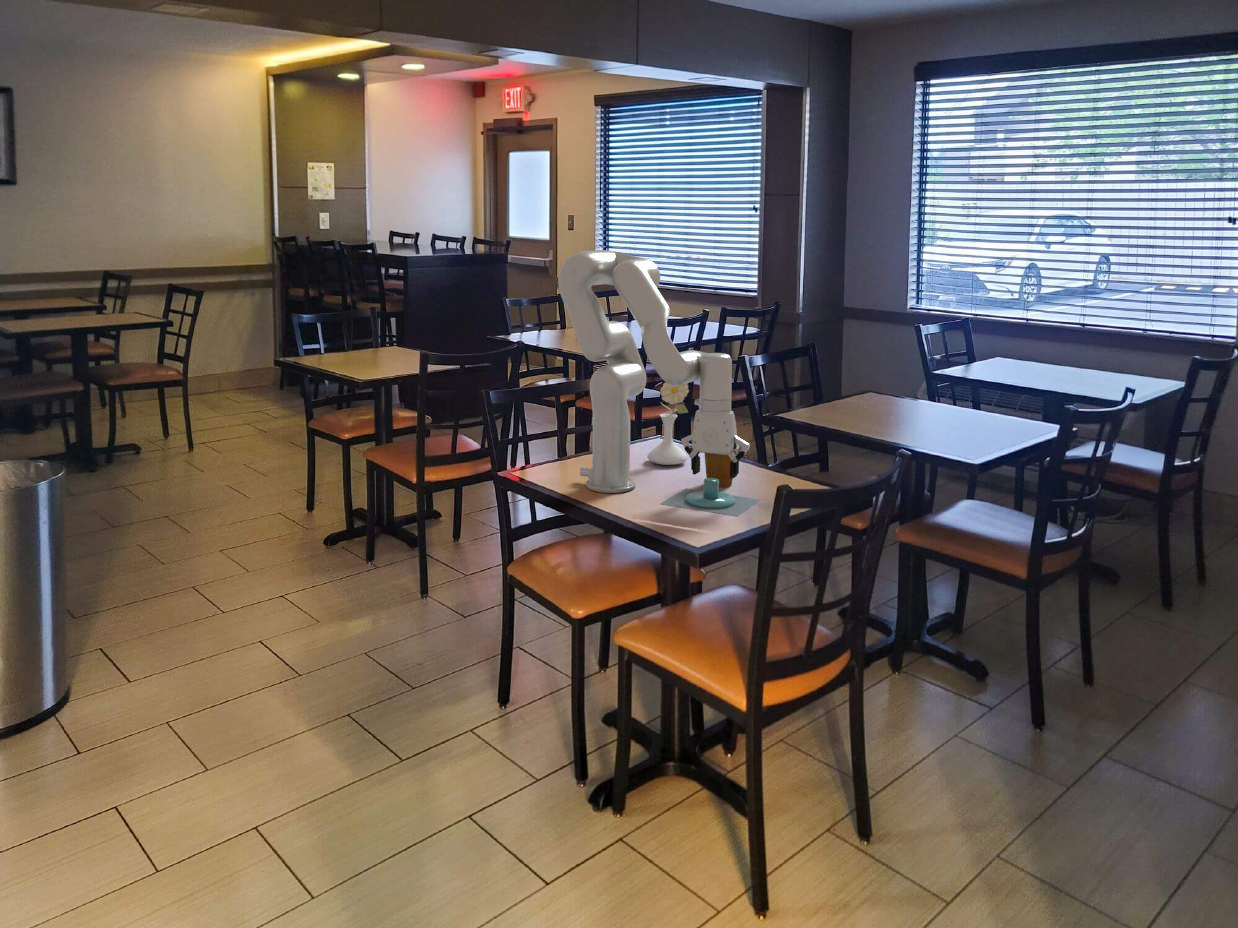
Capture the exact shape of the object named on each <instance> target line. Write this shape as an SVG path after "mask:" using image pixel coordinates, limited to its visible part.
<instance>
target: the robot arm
mask: <svg viewBox="0 0 1238 928" xmlns="http://www.w3.org/2000/svg"><path fill="white" fill-rule="evenodd" d="M557 277H558V278H557V279H558V280H557V284H558V291H559V294H560V297H561V299H562V302H563V303H564V306H565V309H566V310H567V312H568V316H569V318H570V321H571V325H572V328H573V331H574V333H575V335H576V338H577V341H578V345H579V347H580V350H581V352H582V354H583V356H584V357H585V358H586V359H587V360H588V361H591V362H594V363H595V362H605V361H606V363H607V365H603V366H601V367H599V368H597V369H596V370H595V371H594V372H593V374H592V376H591V378H590V381H589V395H590V399H591V406H592V407H591V408H592V464H591V465H592V467H591V468H590V467H588V466H587V467H586V466H581V467H580V469H579V476H581V477H587V478H588V480H587V481H586V482H585V487H586V488H587V489H588V490H589V491H594V492H597V493H603V494H606V493H607V494H609V493H610V494H614V493H615V494H619V493H626V492H630V491H632V490H634V489H635V488H636V482H635V481H634V480H633V479H632V478H631V479H630V471H631V470H630V467H631V466H630V465H631V463H630V462H631V459H630V458H631V457H630V456H631V414H630V408H629V406H628V399H630V398H633V397H634V398H635V397H636V396H638V395H639V394H641V393H642V392H643V391H644V390H645V388H646V385H647V373H646V369H645V367H644V363H643V361H642V358H641V356H640V353H639V349H638V347H637V345H636V341H635V339H634V337H633V334H632V332H631V331H630V330H629V328H628V327H627V326H626V325H625V324H624V323H622V322H620V321H616V320H609V321H608V318H607V316H606V313H605V311H604V308H603V306H602V304H601V301H600V299H599V298H598V296H597V295H596V293H594V291H593V289H592V287H593V286H599V285H601V286H602V285H610V286H614V288H615V290H616V291H617V293H618V295H619V296H620V298H621V300H622V301H623V302H624V304H625V305H626V307H627V309H628V310H629V312H630V313H631V315H632V317H633V318H634V319H635V322H636V323H637V324H638V326H639V328H640V333H641V340H642V345H643V348H644V352H645V354H646V357H647V358H648V360H649V361H650V364H651V365H652V366H653V368H654V370H655V371H656V373H657V374H658V376H659V377H660V378H661V379H662V381H664V383H668V384H670V385H673V386H679V385H683V384H686V383H688V384H689V383H692V382H697V381H699V397H698V399H694V403H693V404H694V405H695V406H698V409H697V410H696V411H695V415H694V421H693V428H692V433H691V434H689V435H687V436H685V437H683V438H681V440H680V441H681V443H682V447H683V448H684V450H685V451H684V452H685V453H686V454H687V455H688V456H689V458H690V461H691V463H690V467H691V471H692V475H697V474H699V473H700V472H701V457H700V453H703V454H704V453H710V454H721V455H727V454H728V456H729V457H730V458H731V460H732V462H731V463H730V478H731V479H735V478H737V476H738V475H739V472H740V460H741V459H743V457H745V456H746V455H747V452H748V451H749V449H750V447H751V444H750V443H749V442H747V441H745V440H744V439H742V437H741V438H740V437H739V436H738V435H737V434H738V433H737V422H736V416H735V413H734V411H733V410H732V385H733V384H732V383H733V382H732V381H733V380H732V379H733V377H732V373H733V371H732V369H733V360H732V358H731V357H732V356H730V354H727V353H722V352H710V353H709V352H704V351H700V350H695V349H694V350H692V349H690V350H685V351H684V350H683V351H680V352H679V350H678V349H677V347H676V346H675V344H674V343H673V342H674V341H672V339H671V336H670V334H669V332H668V331H669V330H668V321H669V316H670V314H671V308H670V306H669V304H668V302H667V301H666V299H665V298H664V296H663V295H662V293H661V292H660V290H659V289H658V287H659V285H660V282H661V273H660V270H659V268H658V266H657V264H655V262H653V261H651V260H650V259H647V258H644V257H639V256H634V255H630V254H628V253H627V254H626V253H622V252H620V251H619V252H617V251H614V250H608V249H602V250H600V249H599V250H597V249H596V250H582V251H579V252H578V251H577V252H576V253H573V254H572V255H570V256H568V258H566V259H565V261H564V262H563V263H562V265H561V267H560V270H559V273H558V276H557ZM690 441H691V444H690ZM737 444H738V445H739V447H741V449H740V451H739V452H738V451H736V448H737Z"/></svg>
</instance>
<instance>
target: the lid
mask: <svg viewBox="0 0 1238 928" xmlns="http://www.w3.org/2000/svg"><path fill="white" fill-rule="evenodd" d="M719 490H720V488H719V480H718V479H715V478H707V477H705V478H704V479H703V490H700V491H699V492H693V493H690V494H688V495H687V496H686V502H687V503H688V504H690V505H692V506H695V507H700V508H708V509H721V508H728V507H731V506H733V505H735V497H734V496H735V495H734V496H732V494H730V493H727V492H724V491H723V492H722V491H719Z"/></svg>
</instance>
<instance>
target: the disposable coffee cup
mask: <svg viewBox="0 0 1238 928" xmlns="http://www.w3.org/2000/svg"><path fill="white" fill-rule="evenodd" d="M739 449H740V445H738V444H737V448H736V451H737V452H738V451H739ZM703 454H704V462H705V463H704V464H705V473H706V474H705V475H706V477H705V478H715V479H718V480H719V489H725V488H730V487H732V485H733V479H734V478H733V479H731V478H730V463H731V462H732V460H731V458H730V457H729V456H728V454H727V455H721V454H710V453H703Z"/></svg>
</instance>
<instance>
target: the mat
mask: <svg viewBox="0 0 1238 928" xmlns="http://www.w3.org/2000/svg"><path fill="white" fill-rule="evenodd" d="M699 491H701V490H699V489H693V488H692V489H691V488H688V487H687V488H683V489H682V490H681V491H679V492H677V493H676V494H674V495H672V496H670V497H669V498H667V499H665V500H664V501H661V503H659V505H662V506H669V507H674V508H682V509H687V510H694V511H700V512H706V513H713V514H718V515H725V516H732V517H737V518H738V517H740V516H741V515H742V514H744V513H745V512H746V511H747V510H749V509H750V508H751V507H753V506H754V505H755V504H757V503H758V502H760V501H761V499H759V498H753V497H748V496H747V497H746V496H741V495H740V496H739V495H732V494H731V495H732V496H734V497H735V505H733V506H731V507H728V508H721V509H708V508H700V507H695V506H692V505H690V504H688V503H687V502H686V496H687V495H688V494H690V493H693V492H699Z"/></svg>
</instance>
